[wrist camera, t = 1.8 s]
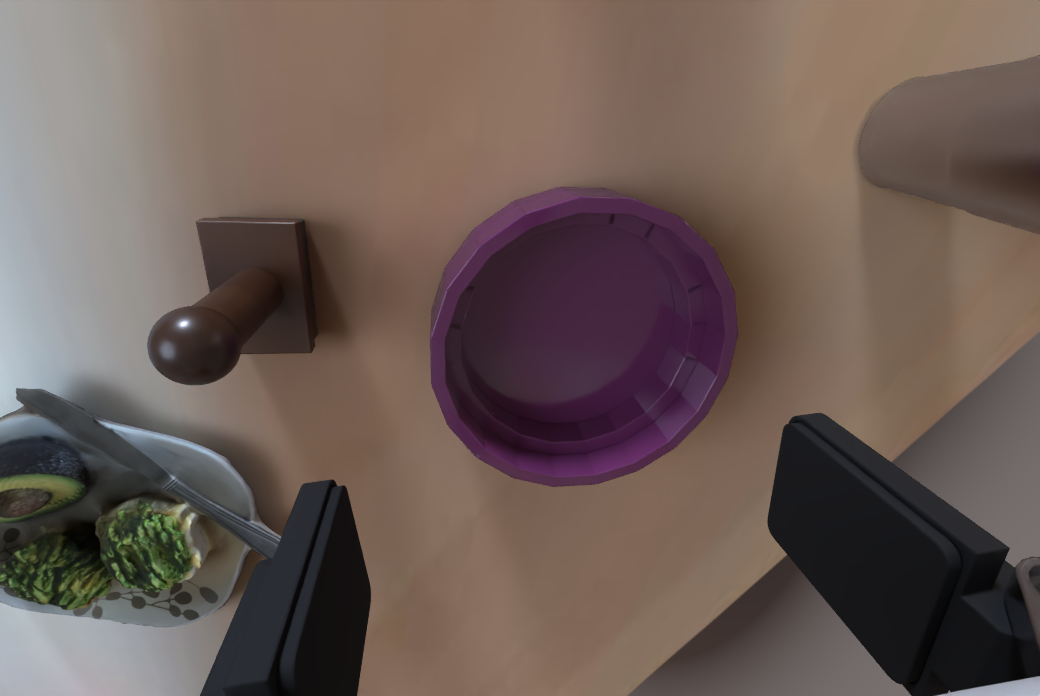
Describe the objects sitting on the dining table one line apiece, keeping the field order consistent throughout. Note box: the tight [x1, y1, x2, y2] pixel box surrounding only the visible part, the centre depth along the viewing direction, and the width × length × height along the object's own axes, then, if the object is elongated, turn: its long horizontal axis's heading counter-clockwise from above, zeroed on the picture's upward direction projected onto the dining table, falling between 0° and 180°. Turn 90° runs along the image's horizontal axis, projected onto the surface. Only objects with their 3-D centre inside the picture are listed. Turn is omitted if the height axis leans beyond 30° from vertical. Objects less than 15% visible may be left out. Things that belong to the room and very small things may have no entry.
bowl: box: [430, 187, 738, 487], centre depth 31 cm, size 18×18×6 cm
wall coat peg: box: [147, 217, 318, 385], centre depth 24 cm, size 7×5×12 cm, turn 177°
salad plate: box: [0, 388, 281, 627], centre depth 32 cm, size 19×18×5 cm
